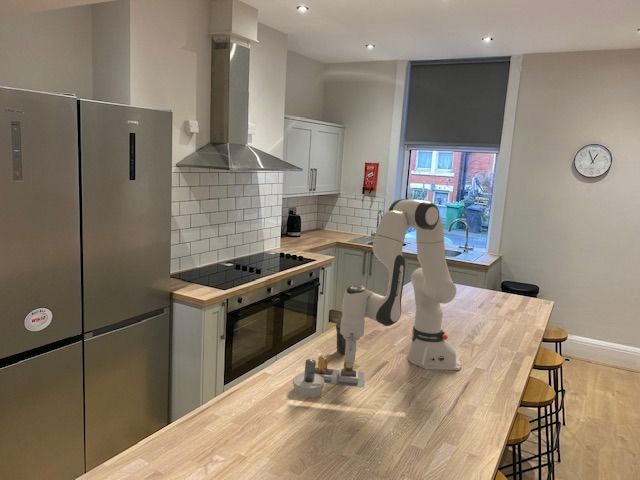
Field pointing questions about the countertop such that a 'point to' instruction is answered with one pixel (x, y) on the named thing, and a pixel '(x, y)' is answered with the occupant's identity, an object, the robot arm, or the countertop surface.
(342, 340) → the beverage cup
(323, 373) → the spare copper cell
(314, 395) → the ramekin
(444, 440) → the countertop surface
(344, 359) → the copper cell
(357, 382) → the gray slab
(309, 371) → the cylinder
